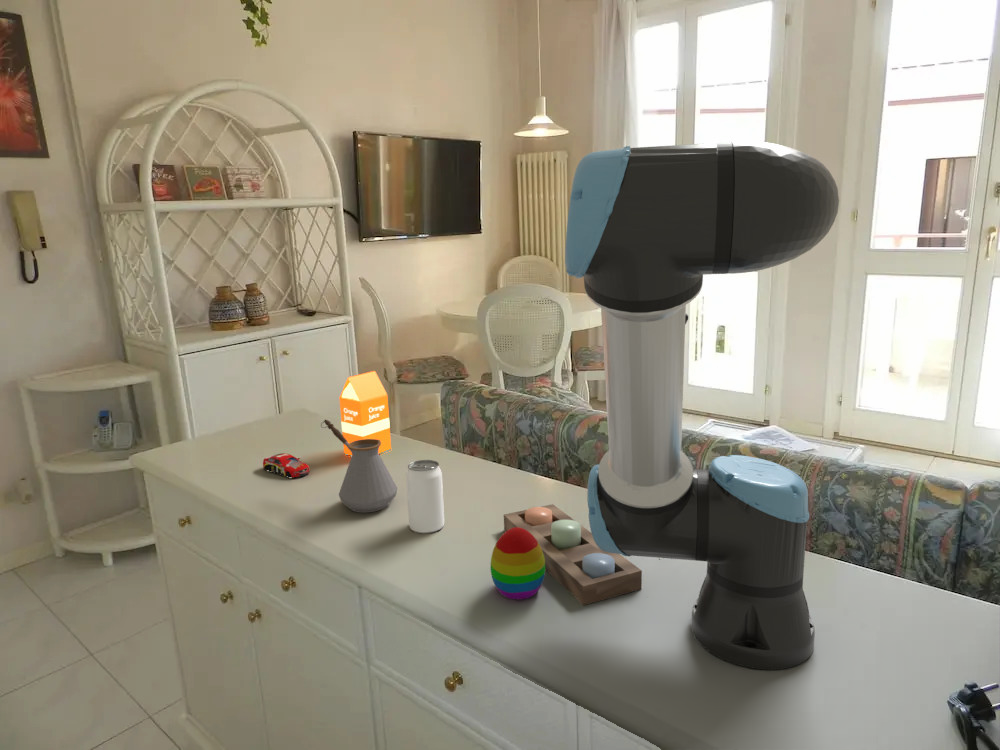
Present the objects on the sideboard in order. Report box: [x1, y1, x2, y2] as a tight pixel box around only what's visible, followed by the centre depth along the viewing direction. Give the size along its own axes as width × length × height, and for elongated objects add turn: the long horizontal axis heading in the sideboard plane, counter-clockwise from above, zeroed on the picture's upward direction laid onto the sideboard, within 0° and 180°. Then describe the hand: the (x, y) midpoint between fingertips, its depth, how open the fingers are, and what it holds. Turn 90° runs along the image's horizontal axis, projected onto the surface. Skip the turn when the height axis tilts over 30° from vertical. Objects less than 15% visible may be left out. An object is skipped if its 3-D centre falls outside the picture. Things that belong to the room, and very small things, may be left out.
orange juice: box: [339, 370, 392, 455], centre depth 167 cm, size 8×9×20 cm
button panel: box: [503, 503, 643, 606], centre depth 112 cm, size 28×10×3 cm, turn 24°
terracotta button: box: [525, 506, 552, 527], centre depth 121 cm, size 5×5×4 cm
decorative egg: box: [490, 527, 546, 600], centre depth 102 cm, size 8×8×10 cm
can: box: [405, 459, 445, 534], centre depth 125 cm, size 6×6×12 cm
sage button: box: [551, 519, 582, 551], centre depth 112 cm, size 5×5×4 cm
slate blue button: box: [582, 553, 615, 579], centre depth 103 cm, size 5×5×4 cm
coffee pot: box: [320, 419, 398, 513], centre depth 139 cm, size 21×12×15 cm, turn 43°
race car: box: [262, 452, 311, 479], centre depth 157 cm, size 13×5×4 cm, turn 51°
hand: (656, 407), depth 117 cm, fingers closed
